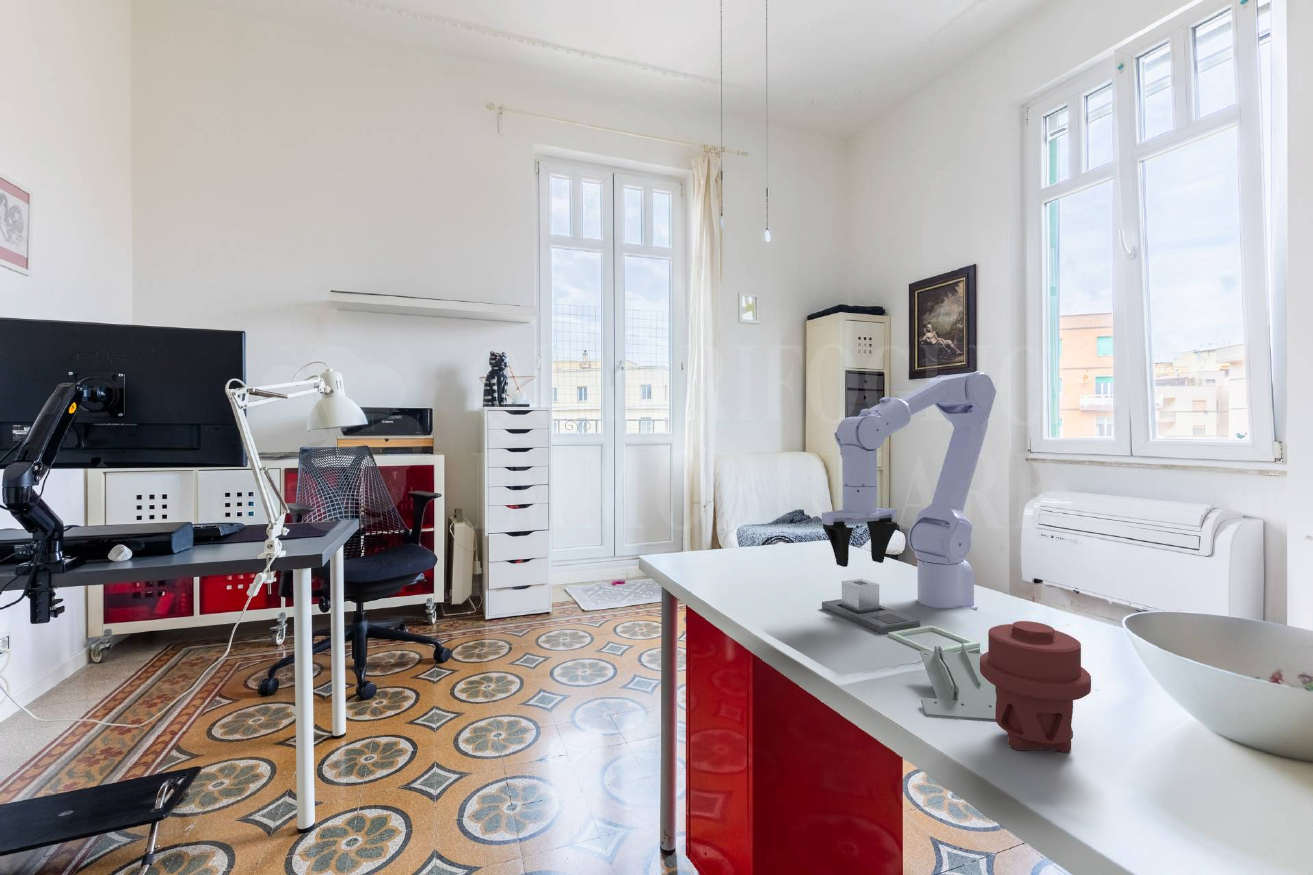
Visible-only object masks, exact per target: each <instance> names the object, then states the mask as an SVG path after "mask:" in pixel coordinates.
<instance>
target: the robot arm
mask: <svg viewBox="0 0 1313 875" xmlns="http://www.w3.org/2000/svg"><path fill="white" fill-rule="evenodd" d="M996 394H997V390H996V388H995V385H994V383H993V380H992V379H991V377H990V375H989V374H988V373H987V372H985V371H982V370H977V371H974V372H967V373H957V374H948V375H946V374H940V375H937V376H935V377H934V378H930V379H928V380H927V382H926V383H924V384H923V385H921V386H919V387H918V388H917V389H915V390H914V391H911V392H910V393H908V394H907V395H905V396H903V397H902V398H897V397H893V396H892V397H891V396H884V397H881V398H880V399H879V403H877V404H875V405H874V406H872V407H870V408H863V409H861V410H860V413H859V414H858V416H849V417H848V416H847V417H845V418H844V419H842V420H841V421H840V423H839V424H838V426H837V429H836V432H834V434H833V435H834V439H835V442H836V444H837V445H838V448H839V450H840V452H839V455H840V456H841V459H842V461H841V464H842V465H841V466H842V467H841V468H842V476H841V478H842V480H841V481H842V509H839V510H833V511H824V512H821V525H822V529H823V530H824V532H825V534H826V536H827V538H828V540H829V542H830V545H831V548H832V551H833V554H834V558H835V562H836V565H837V566H839V567H842V568H845V567H847V568H848V566H849V556H850V554H849V550H850V549H849V548H850V542H851V536H852V534H853V530H854V528H852V527H848V526H847V524H852V523H864V522H865V523H866V525H867V529H868V532H869V538H870V552H871V554H870V555H871V560H872V561H873V562H876V563H879V564H883V563H884V560H885V556H886V553H887V549H888V546H889V544H890V541H891V539H892V537H893V535H894V533H895V532H896V530H897V529H898V522H896V521H897V519H898V509H896V508H892V507H880V508H878V449H880V448H881V447H882V445H883V444H884V442H885V439H886V438H887V437H889V436H890V435H892V434H895V433H896V432H898V431H899V430H901V429H903V428H905V427H907V425H909V424H910V423H911V419H912V416H913V415H915V414H917V413H919V412H921V411H923V410H925V409H928V408H930V407H931V406H935V407H936V408H937V410H938V411H939V412H940V413H941V415H942V416H943V417H944V418H945V420H947V421H948V422H950V423H951V424H952V426H953V431H952V433H951V436H950V440H949V444H948V448H947V449H946V450H947V451H946V454H945V457H944V461H943V464H942V466H941V471H940V473H939V478H938V480H937V483H936V487H935V491H934V493H933V497H932V500H931V504H929V505H928V506H927V507H924V508H923V509H921V510H920V511H919V512H918V513H917V516H916V518H915V521H914V522H913V523H912V524H911V525H910V527H909V529H908V532H907V543H908V544H907V545H908V546H909V548H910V549H911V550H912V551H913V552H914V553H913V554H914V557H915V558H917V560H916V561H917V602H918V603H919V604H921V605H923V606H927V607H930V608H938V609H955V608H960V607H963V608H967V609H969V610H978V609H979V607H978V605H975V575H974V570H973V568H972V566H971V564H970V563H969V562H968V561H967V560H966V558H967V557H968V556H969V553H970V552H971V547H972V540H971V538H972V537H971V536H972V530H973V524H972V523H971V522H970V520H969V519H968V518H967V517H966V515H965V514H964V513H963V512H964V510H965V506H966V501H967V499H968V495H969V492H970V488H971V485H972V481H973V477H974V474H975V471H976V467H977V464H978V462H979V457H980V454H981V451H982V447H983V445H984V440H985V436H986V434H987V430H988V425H989V418H990V415H991V412H992V408H993V405H994V401H995V397H996Z"/></svg>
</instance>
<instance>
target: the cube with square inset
mask: <svg viewBox="0 0 1313 875" xmlns="http://www.w3.org/2000/svg"><path fill="white" fill-rule="evenodd" d="M841 599H842V608H844V609H847V610H849V611H851V612H854V613H856V614H863V613H870V612H876V611H879V605H880V584H879V583H876V582H872V581H870V580H868V579H864V578H856V579H848V580H842V581H841Z"/></svg>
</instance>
